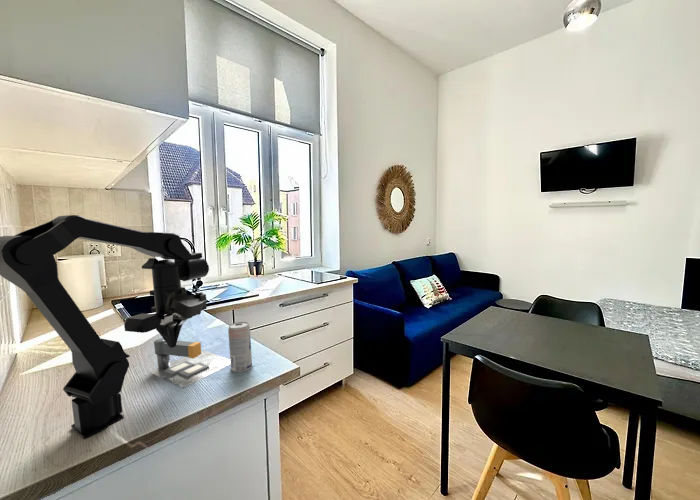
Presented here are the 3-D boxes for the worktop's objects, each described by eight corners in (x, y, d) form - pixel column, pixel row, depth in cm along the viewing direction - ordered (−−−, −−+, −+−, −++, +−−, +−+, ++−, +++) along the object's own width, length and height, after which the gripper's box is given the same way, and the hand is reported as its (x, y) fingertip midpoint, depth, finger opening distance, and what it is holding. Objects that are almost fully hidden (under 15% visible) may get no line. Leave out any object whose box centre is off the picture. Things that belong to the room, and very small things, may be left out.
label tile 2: (172, 375, 77) (172, 373, 77) (163, 372, 79) (163, 370, 79) (194, 365, 82) (194, 363, 82) (186, 362, 84) (186, 360, 84)
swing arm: (151, 354, 81) (150, 342, 80) (163, 348, 84) (162, 337, 84) (192, 359, 77) (191, 346, 77) (202, 353, 80) (201, 341, 80)
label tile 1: (187, 378, 76) (187, 375, 76) (178, 374, 78) (178, 372, 78) (209, 367, 81) (208, 365, 81) (199, 364, 83) (199, 362, 83)
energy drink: (251, 362, 85) (249, 320, 83) (252, 370, 80) (250, 326, 78) (231, 365, 83) (228, 323, 81) (231, 375, 78) (227, 329, 76)
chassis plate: (183, 389, 72) (182, 371, 71) (147, 372, 80) (146, 356, 80) (236, 362, 84) (235, 347, 84) (200, 351, 93) (199, 337, 92)
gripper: (160, 295, 62) (166, 368, 64) (221, 278, 80) (225, 335, 82) (119, 293, 65) (126, 363, 67) (187, 277, 83) (191, 332, 85)
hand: (172, 347), depth 75 cm, fingers closed
